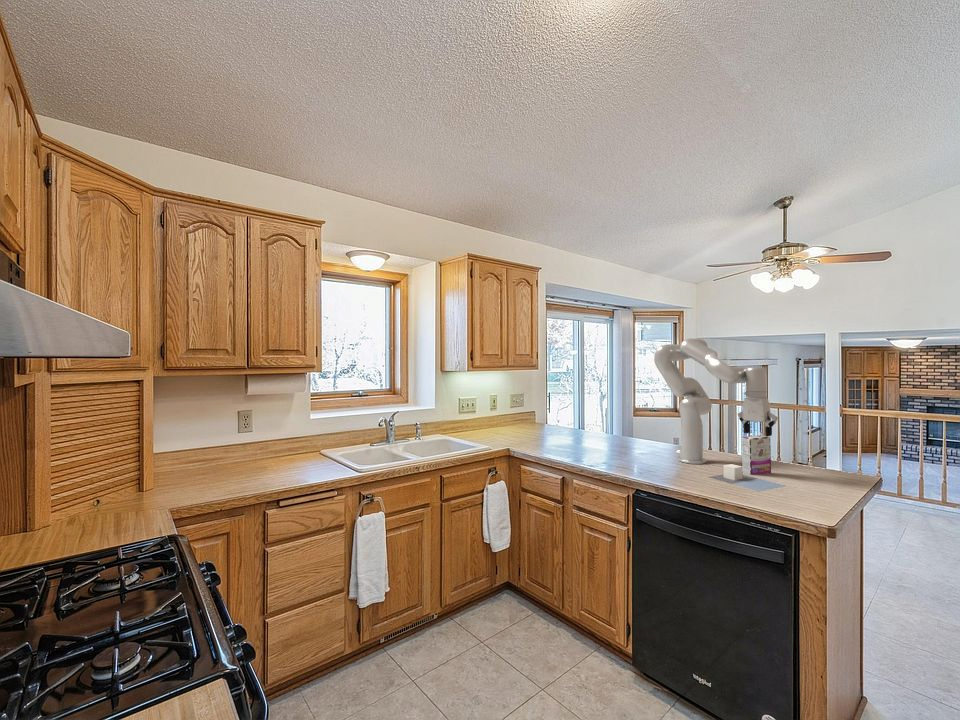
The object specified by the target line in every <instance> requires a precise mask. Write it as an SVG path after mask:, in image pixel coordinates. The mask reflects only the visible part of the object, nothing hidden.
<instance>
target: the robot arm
mask: <svg viewBox="0 0 960 720" xmlns="http://www.w3.org/2000/svg"><path fill="white" fill-rule="evenodd" d="M653 359H654V360H653V361H654V364H655V367H656V369H657V370H658V372H659V373H660V374H661V376H662V377H663V379H664V381H665V384H667V386H668V387H669V389H670V391H671V393H672V394H673V395H674V396H675V397H678V398H679V397H680V398H683V397H685V398H683V399H682V400H681V401H680V402H679V405H678V406H679V407H678V410H679V415H680V426H681V427H680V428H681V429H680V430H681V431H680V432H681V434H680V435H681V439H680V440H681V449H678V450H676V451H675V453H676V454H677V455H679V456H678V458H677V460H678V461H679V462H681V463H684V464H691V465H692V464H693V465H702V464H706V463H707V462H708V461H707V460H708V459H706V458H705V457H704V434H703V433H704V429H703V427H704V426H703V424H704V423H703V420H702V418H701V416H704V415H707V414H709V413H710V412H711V410H712V408H713V406H712V401H711V399H710V398H709V396H708V394H707V392H706V390H704V388H703V387H702V385H701V383H700V382H699V381H698V380H697V379H695V378H693V377H685V376H684V375H683V373H682V371H680V369H679V368H678V366H677V365H676V364H675V363H673V362H678V361H679V362H680V361H685V360H688V359H692V360H694V361H695V362H696V363H698V364H700V365H701V366H703V367H704V368H705V369H706V370H707V371H708V372H709V373H710V374H711V375H712V376H714V377H715V378H717V379H718V380H720V381H722V382H724V383H727V384H729V385H730V384H732V385H733V384H744V383H745V391H744V392H743V395H744V396H745V398H744V399H743V404H742V411H740V412H738V413H737V416H738V418H739V421H740V422H741V424H742V425H743V427H742V428H743V433H744V434H750V433H751V425H750V422H756V423H764V425H765V427H764V428H765V429H764V434H765V435H764V436H768V437H771V436H772V435H773V427H774V425H775V424H777V421H778V419H779V417H778V416H776V415H775V414H773V413H771V406H770V402H769V401H770V400H769V398H767V371H766V368H765V367H764V366H731V365H729V364H727V363H726V362H724V361H722V360H721V359H719V357H718V352H717V351H716V350H714V349H712V348H710V347H709V346H708V343H707V342H706V341H705V340H704V339H702V338H686V339H684V340H683V341H682V342H681V343H679V344H677V343H676V344H674V343H673V344H669V343H668V344H663V345H660V346H659V347H657V349H656V350H655V353H654V355H653Z"/></svg>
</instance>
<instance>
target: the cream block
mask: <svg viewBox="0 0 960 720" xmlns="http://www.w3.org/2000/svg"><path fill="white" fill-rule="evenodd" d="M722 467H723V474H724V477H725V478H728V479H732V480H738V479H743V475H744V474H743V473H744V472H743V467H742V466H741V465H737V464H732V463H731V464H730V463H729V464H724V465H723V466H722Z"/></svg>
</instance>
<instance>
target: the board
mask: <svg viewBox="0 0 960 720" xmlns="http://www.w3.org/2000/svg"><path fill="white" fill-rule="evenodd" d="M708 478H709V479H714V480H716V481H721V482H725V483H727V484H731V485H735V486H738V487H742V488H745V489H749V490H752V491H756V492H763V491H768V490H773V489H777V488H781V487H782V488H783V487H786V485H785V484H781V483H776V482H773V481H768V480H765V479H762V478H758V477H753V476H751V475H750V476H749V475H745V474H743V479H738V480H732V479H728V478H725V477H724V473H723V474H718V475H711V476H708Z"/></svg>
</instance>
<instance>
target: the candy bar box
mask: <svg viewBox="0 0 960 720" xmlns="http://www.w3.org/2000/svg"><path fill="white" fill-rule="evenodd" d="M771 453H772V452H771V436H765V435H762V434H761V435H759V434H758V435H750V436H741V462H742V467H743V473H744V474H748V475H750V476H751V475H761V474H770V475H771V474H772V456H771V455H772V454H771Z"/></svg>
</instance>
